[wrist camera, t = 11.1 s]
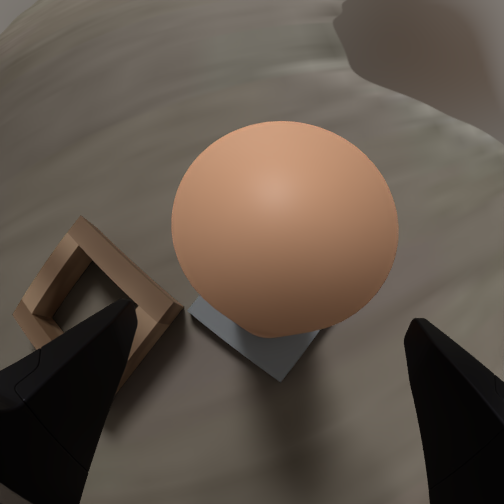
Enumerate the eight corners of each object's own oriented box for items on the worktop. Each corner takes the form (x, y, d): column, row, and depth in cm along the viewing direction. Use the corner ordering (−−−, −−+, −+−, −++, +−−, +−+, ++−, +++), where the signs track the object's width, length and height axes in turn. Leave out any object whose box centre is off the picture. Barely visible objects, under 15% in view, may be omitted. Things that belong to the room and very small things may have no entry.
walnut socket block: (107, 405, 17) (89, 412, 15) (32, 318, 19) (12, 314, 16) (184, 306, 19) (173, 302, 17) (96, 228, 21) (80, 215, 18)
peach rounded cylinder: (249, 349, 17) (223, 374, 5) (220, 282, 19) (146, 166, 6) (317, 319, 18) (434, 269, 5) (287, 253, 19) (329, 101, 6)
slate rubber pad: (279, 380, 18) (280, 382, 17) (189, 311, 19) (187, 310, 18) (345, 290, 19) (348, 288, 18) (257, 227, 20) (258, 223, 20)
